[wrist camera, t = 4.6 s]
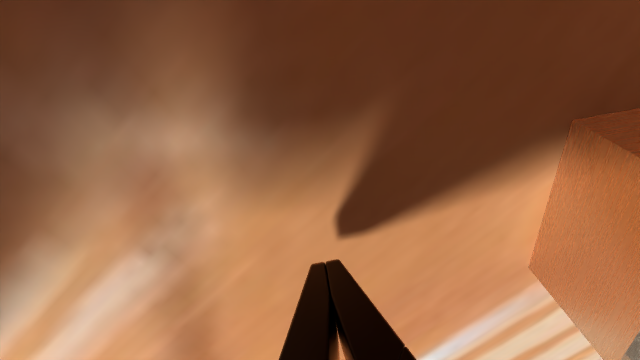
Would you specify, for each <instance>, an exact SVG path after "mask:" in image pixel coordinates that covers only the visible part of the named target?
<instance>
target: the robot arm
mask: <svg viewBox="0 0 640 360" xmlns="http://www.w3.org/2000/svg"><path fill="white" fill-rule="evenodd" d="M336 325H337V326H336ZM337 330H338V332H337ZM338 335H339V339H340V343H341V346H342V349H343V353H344V356H345V359H346V360H416V359H415V357H414V356H413V355H412V353H411V352H410V351H409V349H408V348H407V347H405V345H404V343H403V342H402V341H401V339H400V338H399V337H398V335H397V334H396V333H395V332H394V330H393V329H392V328H391V326H390V325H389V324H388V322H387V321H386V320H385V319H384V317H383V316H382V315H381V313H380V312H379V311H378V309H377V308H376V307H375V306H374V304H373V303H372V302H371V300H370V299H369V298H368V296H367V295H366V294H365V293H364V291H363V290H362V289H361V287H360V286H359V285H358V283H357V282H356V281H355V280H354V278H353V277H352V276H351V274H350V273H349V272H348V270H347V269H346V268H345V267H344V265H343V264H342V263H341V261H340V260H338V259H336V260H331V261H327V262H326V265H325V263H324V262H320V263H315V264H312V265H311V267H310V269H309V272H308V275H307V278H306V281H305V284H304V287H303V290H302V293H301V296H300V299H299V302H298V305H297V308H296V310H295V313H294V316H293V319H292V322H291V325H290V328H289V331H288V334H287V337H286V340H285V343H284V346H283V349H282V352H281V355H280V357H279V360H340V359H339V342H338Z"/></svg>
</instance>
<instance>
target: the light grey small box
mask: <svg viewBox="0 0 640 360" xmlns="http://www.w3.org/2000/svg"><path fill="white" fill-rule="evenodd" d="M528 268H529V269H530V270H531V271H532V272H533V274H534V275H535V276H536V277H537V279H538V280H539V281H540V282H541V284H542V285H543V286H544V287H545V288H546V290H547V291H548V292H549V293H550V295H551V296H552V297H553V298H554V300H555V301H556V302H557V303H558V304H559V306H560V307H561V308H562V309H563V311H564V312H565V313H566V314H567V316H568V317H569V318H570V319H571V320H572V322H573V323H574V324H575V325H576V327H577V328H578V329H579V330H580V332H581V333H582V334H583V335H584V336H585V338H586V339H587V340H588V341H589V343H590V344H591V345H592V346H593V348H594V349H595V350H596V351H597V352H598V354H599V355H600V356H601V357H602V359H603V360H640V108H637V109H632V110H626V111H620V112H615V113H609V114H604V115H598V116H592V117H587V118H581V119H576V120H572V122H571V126H570V129H569V132H568V136H567V139H566V142H565V146H564V149H563V153H562V156H561V159H560V163H559V166H558V169H557V173H556V176H555V180H554V183H553V186H552V190H551V193H550V196H549V200H548V203H547V206H546V210H545V213H544V217H543V220H542V223H541V227H540V230H539V233H538V237H537V240H536V244H535V247H534V250H533V254H532V257H531V260H530V264H529V267H528Z"/></svg>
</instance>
